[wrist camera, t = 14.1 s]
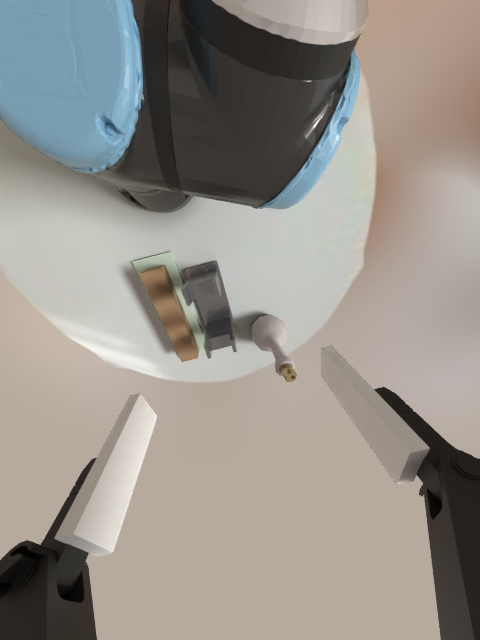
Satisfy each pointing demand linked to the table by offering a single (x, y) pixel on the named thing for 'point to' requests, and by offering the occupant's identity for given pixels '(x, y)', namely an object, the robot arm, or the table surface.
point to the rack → (211, 305)
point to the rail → (170, 311)
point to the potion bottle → (274, 343)
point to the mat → (178, 284)
